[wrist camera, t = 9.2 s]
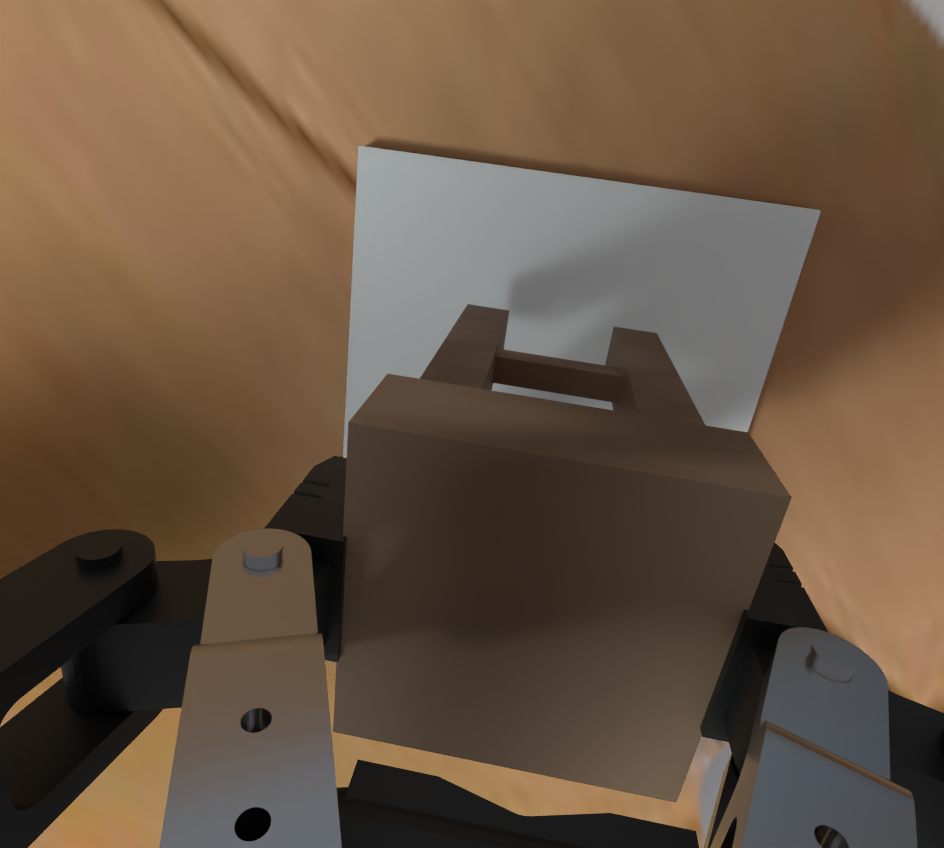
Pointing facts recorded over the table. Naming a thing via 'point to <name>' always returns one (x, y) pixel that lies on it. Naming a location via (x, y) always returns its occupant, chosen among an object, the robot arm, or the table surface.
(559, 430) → the stool
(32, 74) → the table surface
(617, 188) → the mat
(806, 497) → the table surface
